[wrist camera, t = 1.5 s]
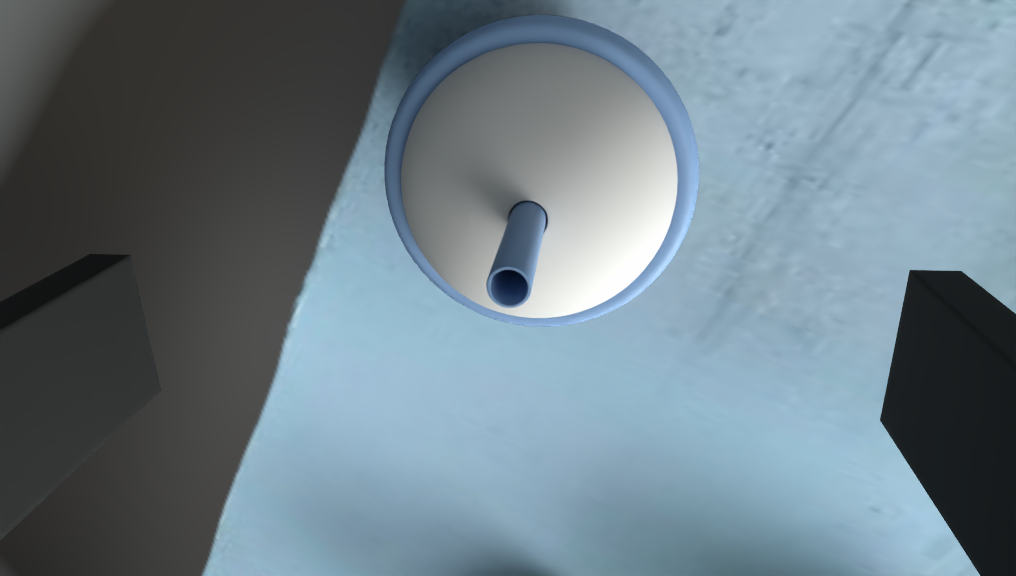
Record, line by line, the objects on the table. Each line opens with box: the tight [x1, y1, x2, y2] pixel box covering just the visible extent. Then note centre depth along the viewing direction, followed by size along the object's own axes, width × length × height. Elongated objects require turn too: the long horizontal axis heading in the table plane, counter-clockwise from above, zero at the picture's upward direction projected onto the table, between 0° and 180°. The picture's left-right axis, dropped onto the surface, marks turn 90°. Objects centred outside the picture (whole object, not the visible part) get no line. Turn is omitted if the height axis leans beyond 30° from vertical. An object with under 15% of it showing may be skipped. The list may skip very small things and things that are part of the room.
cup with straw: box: [385, 15, 699, 327], centre depth 22 cm, size 9×9×18 cm
